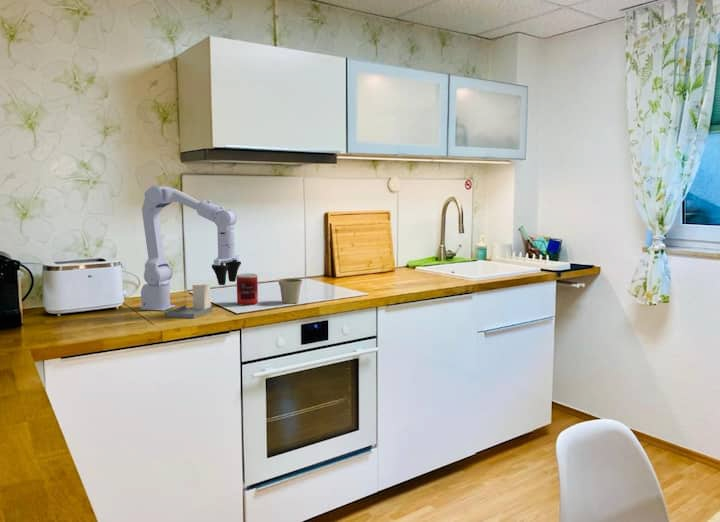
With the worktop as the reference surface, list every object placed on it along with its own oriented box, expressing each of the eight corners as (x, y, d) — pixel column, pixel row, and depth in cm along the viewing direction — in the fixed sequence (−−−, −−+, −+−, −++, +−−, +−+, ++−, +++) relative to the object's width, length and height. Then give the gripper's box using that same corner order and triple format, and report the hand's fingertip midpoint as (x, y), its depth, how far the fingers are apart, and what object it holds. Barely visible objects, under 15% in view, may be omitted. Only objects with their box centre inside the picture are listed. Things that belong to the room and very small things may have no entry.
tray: (164, 316, 189) (164, 312, 188) (184, 309, 201) (184, 305, 200) (193, 318, 186) (193, 313, 186) (212, 310, 198) (211, 306, 198)
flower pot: (299, 299, 219) (299, 277, 218) (305, 303, 211) (305, 281, 210) (275, 301, 216) (275, 279, 215) (281, 305, 207) (280, 282, 206)
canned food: (248, 300, 217) (248, 272, 215) (262, 303, 211) (261, 274, 210) (232, 303, 211) (232, 275, 209) (246, 306, 206) (245, 277, 204)
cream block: (193, 309, 200) (192, 284, 199) (199, 307, 205) (198, 282, 203) (204, 310, 199) (203, 285, 198) (210, 307, 204) (210, 283, 202)
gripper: (226, 247, 187) (227, 287, 188) (245, 243, 201) (246, 280, 202) (207, 246, 188) (208, 286, 190) (228, 242, 202) (229, 279, 204)
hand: (227, 283), depth 196 cm, fingers open, 7 cm apart
